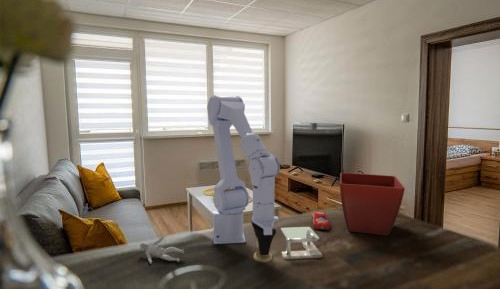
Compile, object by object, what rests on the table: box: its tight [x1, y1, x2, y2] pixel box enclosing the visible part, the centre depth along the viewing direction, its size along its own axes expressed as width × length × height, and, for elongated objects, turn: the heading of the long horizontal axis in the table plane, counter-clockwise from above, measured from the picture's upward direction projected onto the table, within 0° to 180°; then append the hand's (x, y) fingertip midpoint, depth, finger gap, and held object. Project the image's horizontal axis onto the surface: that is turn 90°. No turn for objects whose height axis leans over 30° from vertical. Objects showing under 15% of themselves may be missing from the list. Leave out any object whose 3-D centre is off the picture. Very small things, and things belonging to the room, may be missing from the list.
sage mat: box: [280, 226, 320, 241], centre depth 102 cm, size 10×10×1 cm
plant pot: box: [339, 172, 406, 236], centre depth 108 cm, size 19×19×17 cm
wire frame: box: [281, 230, 323, 260], centre depth 89 cm, size 10×9×5 cm
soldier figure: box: [139, 235, 185, 264], centre depth 84 cm, size 8×5×12 cm
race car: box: [311, 211, 330, 231], centre depth 111 cm, size 13×5×4 cm, turn 172°
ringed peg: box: [253, 235, 273, 263], centre depth 85 cm, size 5×5×6 cm
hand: (262, 251), depth 85 cm, fingers closed on ringed peg, 4 cm apart
